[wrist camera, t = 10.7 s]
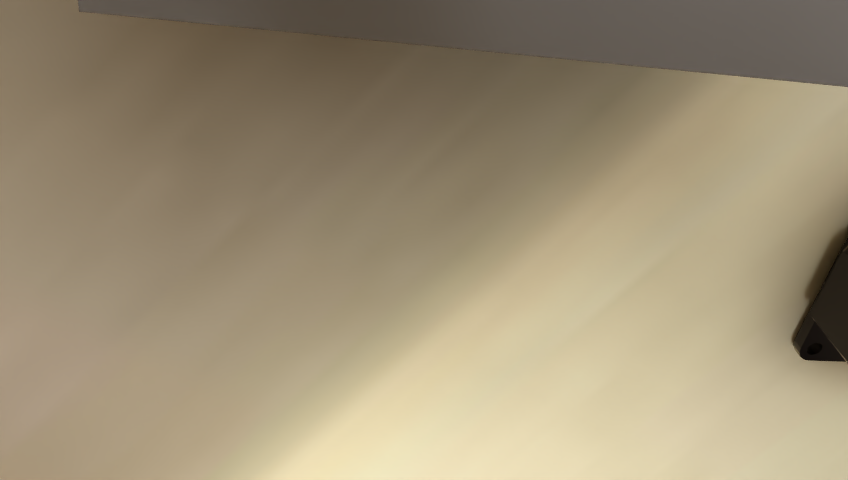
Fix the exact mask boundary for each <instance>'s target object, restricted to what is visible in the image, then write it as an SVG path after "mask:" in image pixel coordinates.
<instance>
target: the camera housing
mask: <svg viewBox="0 0 848 480" xmlns="http://www.w3.org/2000/svg"><path fill="white" fill-rule="evenodd" d="M78 6H79V12H90V13H100V14H110V15H120V16H130V17H141V18H151V19H161V20H171V21H181V22H191V23H202V24H212V25H222V26H232V27H242V28H253V29H263V30H273V31H283V32H293V33H304V34H314V35H324V36H334V37H344V38H355V39H365V40H375V41H385V42H395V43H406V44H416V45H426V46H436V47H446V48H457V49H467V50H477V51H487V52H497V53H508V54H518V55H528V56H538V57H548V58H559V59H569V60H579V61H589V62H599V63H609V64H620V65H630V66H640V67H650V68H660V69H671V70H681V71H691V72H701V73H711V74H722V75H732V76H742V77H752V78H762V79H773V80H783V81H793V82H803V83H813V84H824V85H834V86H844V87H848V0H78Z"/></svg>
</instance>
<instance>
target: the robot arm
mask: <svg viewBox="0 0 848 480" xmlns="http://www.w3.org/2000/svg"><path fill="white" fill-rule="evenodd" d="M793 345H794V348H795V350H796V351H797V353H798V354H799V355H800V357H801V358H803V359H805V360H814V361H843V362H847V363H848V237H847V239H846V241H845V243H844V245H843V247H842V249H841V251H840V253H839V255H838V257H837V259H836V261H835V263H834V265H833V266H832V268H831V270H830V272H829V274H828V276H827V278H826V280H825V282H824V284H823V286H822V288H821V290H820V292H819V294H818V296H817V298H816V299H815V301H814V303H813V305H812V307H811V309H810V311H809V313H808V315H807V317H806V319H805V321H804V323H803V325H802V327H801V329H800V330H799V332H798V334H797V336H796V338H795V340H794V344H793Z"/></svg>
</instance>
